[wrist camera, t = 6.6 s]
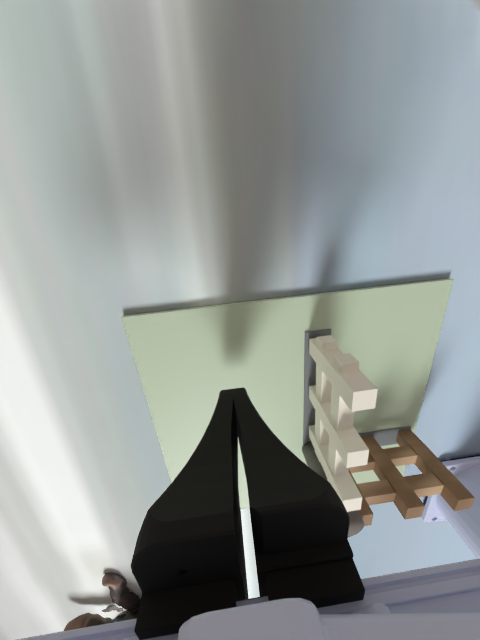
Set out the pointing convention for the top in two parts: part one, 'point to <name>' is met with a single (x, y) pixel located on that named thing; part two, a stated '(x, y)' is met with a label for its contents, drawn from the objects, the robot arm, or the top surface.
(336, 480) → the folding fence panel
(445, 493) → the fixed fence panel
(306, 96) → the top surface
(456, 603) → the robot arm
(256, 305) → the card
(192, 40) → the top surface
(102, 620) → the stuffed animal
